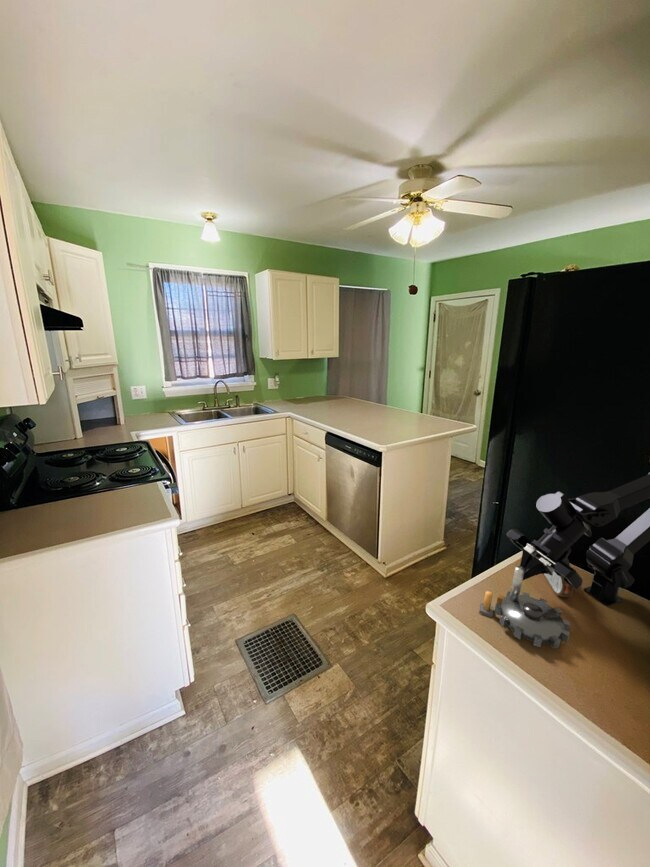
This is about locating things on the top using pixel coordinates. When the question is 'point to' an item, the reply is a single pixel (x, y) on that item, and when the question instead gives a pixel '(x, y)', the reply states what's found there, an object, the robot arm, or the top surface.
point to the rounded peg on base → (487, 605)
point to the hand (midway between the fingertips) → (517, 580)
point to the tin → (559, 585)
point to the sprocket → (531, 616)
